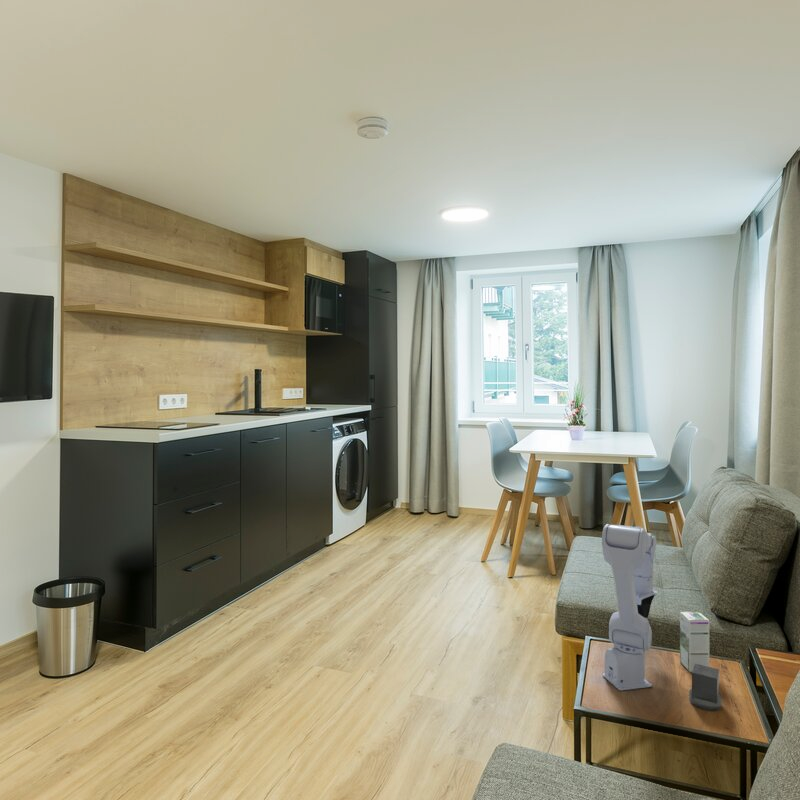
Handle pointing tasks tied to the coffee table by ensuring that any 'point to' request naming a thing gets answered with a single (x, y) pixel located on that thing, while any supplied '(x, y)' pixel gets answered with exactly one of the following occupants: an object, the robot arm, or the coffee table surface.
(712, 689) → the socket
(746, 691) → the coffee table surface
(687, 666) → the syrup box
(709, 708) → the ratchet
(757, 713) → the coffee table surface
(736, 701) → the coffee table surface
